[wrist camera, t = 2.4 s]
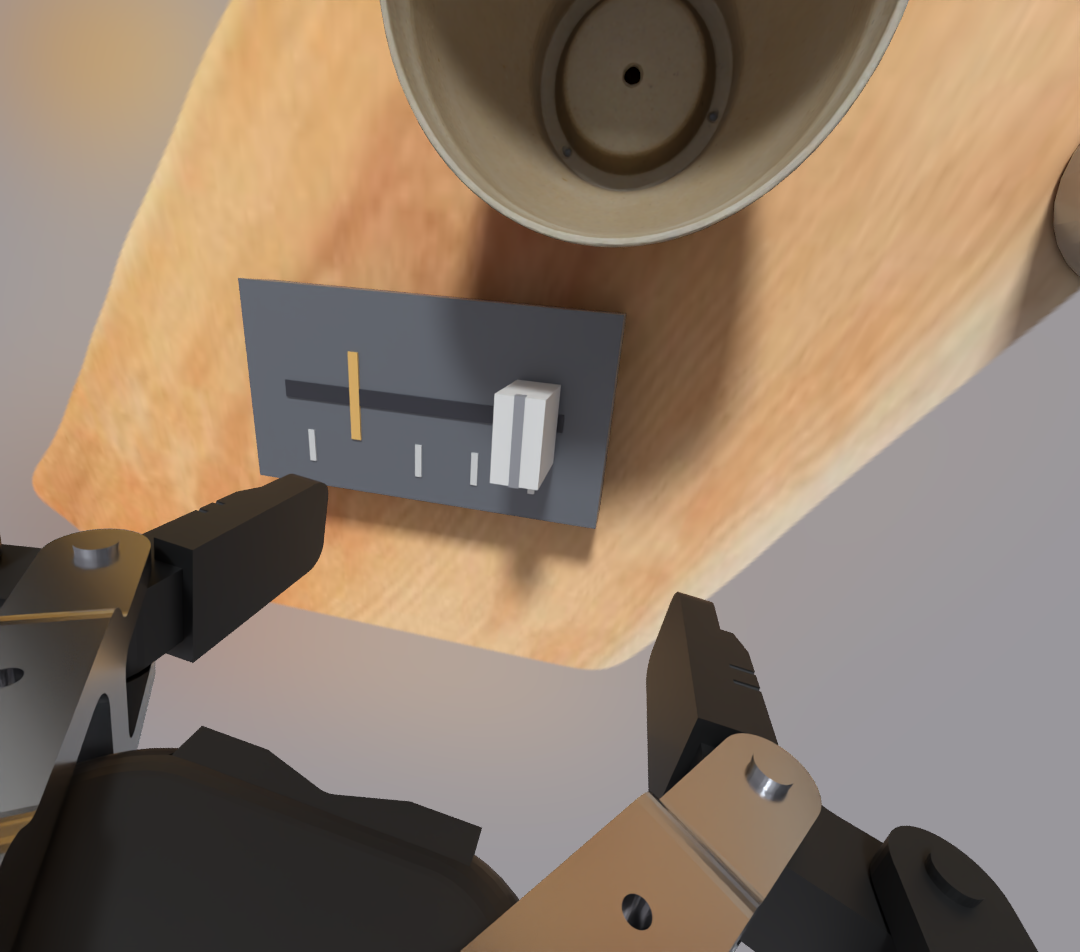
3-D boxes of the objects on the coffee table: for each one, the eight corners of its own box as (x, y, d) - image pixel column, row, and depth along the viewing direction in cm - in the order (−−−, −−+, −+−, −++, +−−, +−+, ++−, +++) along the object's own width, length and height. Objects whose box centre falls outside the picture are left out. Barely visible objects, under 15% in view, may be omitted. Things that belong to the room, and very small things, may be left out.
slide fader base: (626, 313, 28) (623, 314, 25) (599, 509, 33) (595, 529, 30) (273, 280, 32) (236, 278, 29) (290, 461, 36) (258, 475, 33)
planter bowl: (729, 302, 27) (778, 304, 17) (450, 218, 29) (343, 174, 19) (886, -86, 21) (1100, -431, 11) (524, -169, 23) (427, -543, 13)
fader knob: (561, 383, 27) (545, 399, 23) (553, 463, 28) (537, 491, 24) (517, 378, 27) (494, 392, 23) (511, 457, 29) (489, 484, 25)
